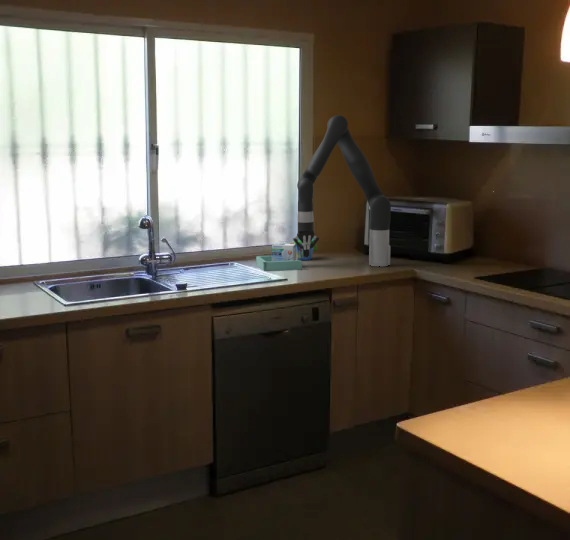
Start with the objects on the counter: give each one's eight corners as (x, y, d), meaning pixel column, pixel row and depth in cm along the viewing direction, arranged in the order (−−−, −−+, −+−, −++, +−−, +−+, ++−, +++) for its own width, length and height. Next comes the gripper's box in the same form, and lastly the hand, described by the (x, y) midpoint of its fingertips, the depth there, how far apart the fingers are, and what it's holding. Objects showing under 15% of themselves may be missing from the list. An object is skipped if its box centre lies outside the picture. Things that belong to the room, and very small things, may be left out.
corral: (292, 262, 367) (292, 254, 366) (301, 269, 350) (301, 260, 349) (255, 264, 363) (255, 256, 362) (263, 270, 346) (263, 262, 345)
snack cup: (298, 262, 369) (298, 241, 367) (285, 259, 377) (285, 239, 375) (323, 259, 378) (323, 239, 376) (309, 256, 386) (310, 236, 384)
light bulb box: (271, 267, 355) (271, 244, 353) (274, 265, 361) (274, 242, 359) (293, 268, 353) (293, 245, 351) (296, 265, 359) (296, 243, 357)
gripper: (316, 219, 361) (317, 255, 364) (290, 220, 358) (290, 256, 361) (321, 221, 353) (321, 257, 356) (293, 222, 350) (294, 259, 353)
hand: (306, 257), depth 359 cm, fingers closed
